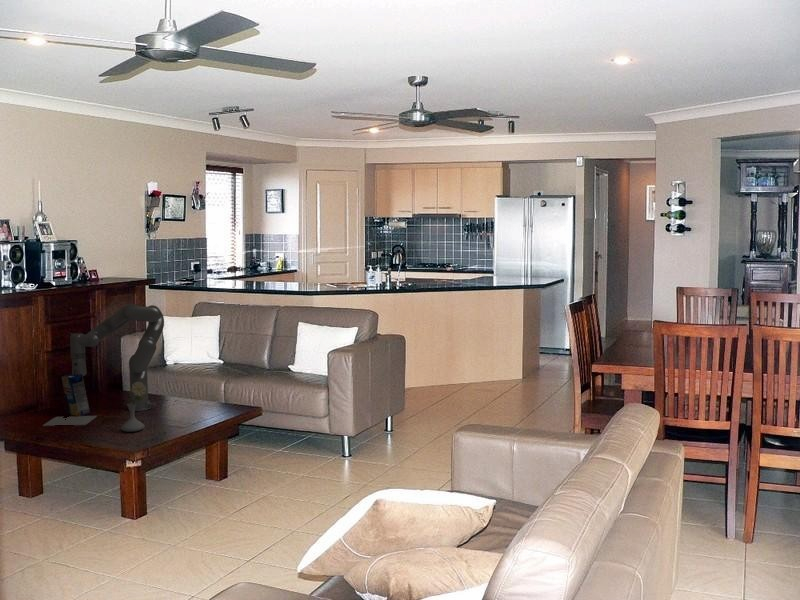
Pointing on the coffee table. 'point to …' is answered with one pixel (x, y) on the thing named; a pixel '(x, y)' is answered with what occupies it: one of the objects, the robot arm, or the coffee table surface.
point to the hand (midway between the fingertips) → (79, 388)
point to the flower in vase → (133, 423)
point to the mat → (70, 420)
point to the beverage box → (75, 394)
